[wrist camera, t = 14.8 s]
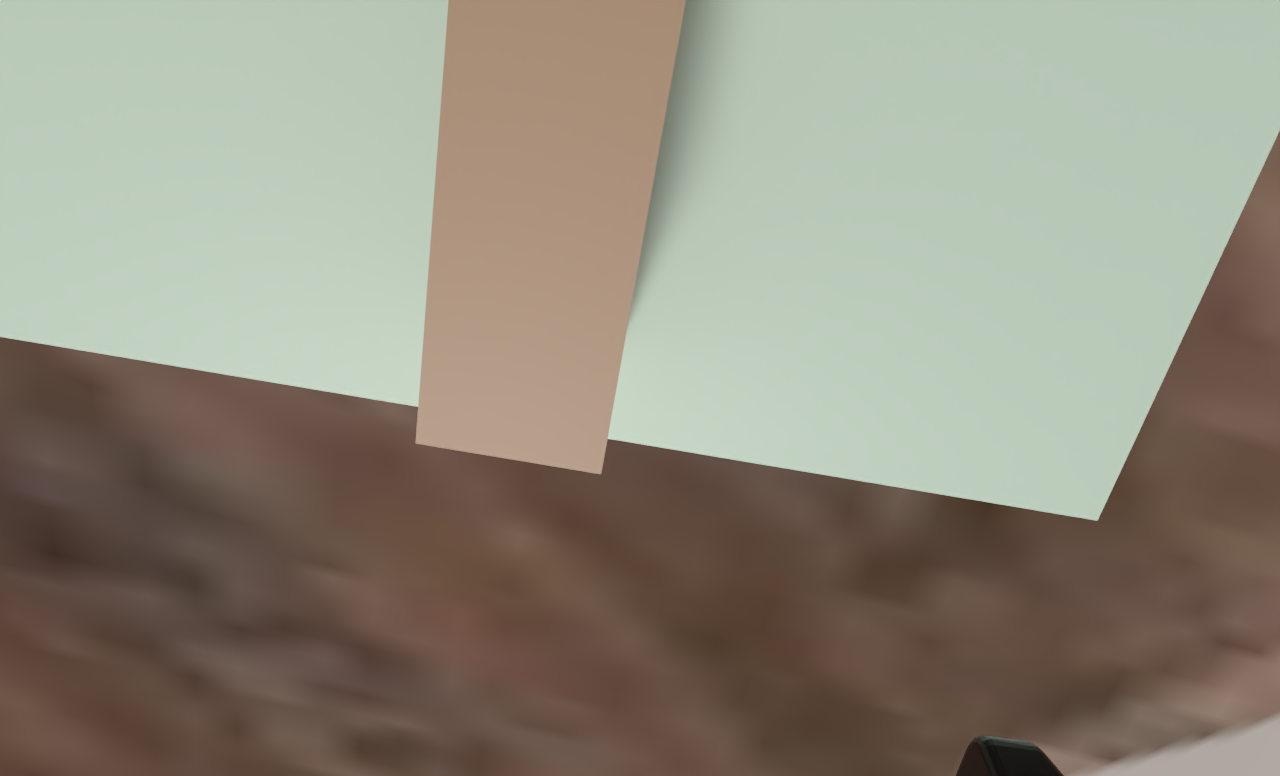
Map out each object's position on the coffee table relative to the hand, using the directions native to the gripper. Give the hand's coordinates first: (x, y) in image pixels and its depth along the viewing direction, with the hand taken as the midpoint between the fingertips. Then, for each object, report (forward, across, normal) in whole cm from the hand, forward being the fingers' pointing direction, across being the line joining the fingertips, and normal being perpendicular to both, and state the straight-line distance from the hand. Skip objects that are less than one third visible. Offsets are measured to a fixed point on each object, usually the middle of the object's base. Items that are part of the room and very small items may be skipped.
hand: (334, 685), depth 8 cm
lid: (+14, 0, 0) cm, 14 cm away
